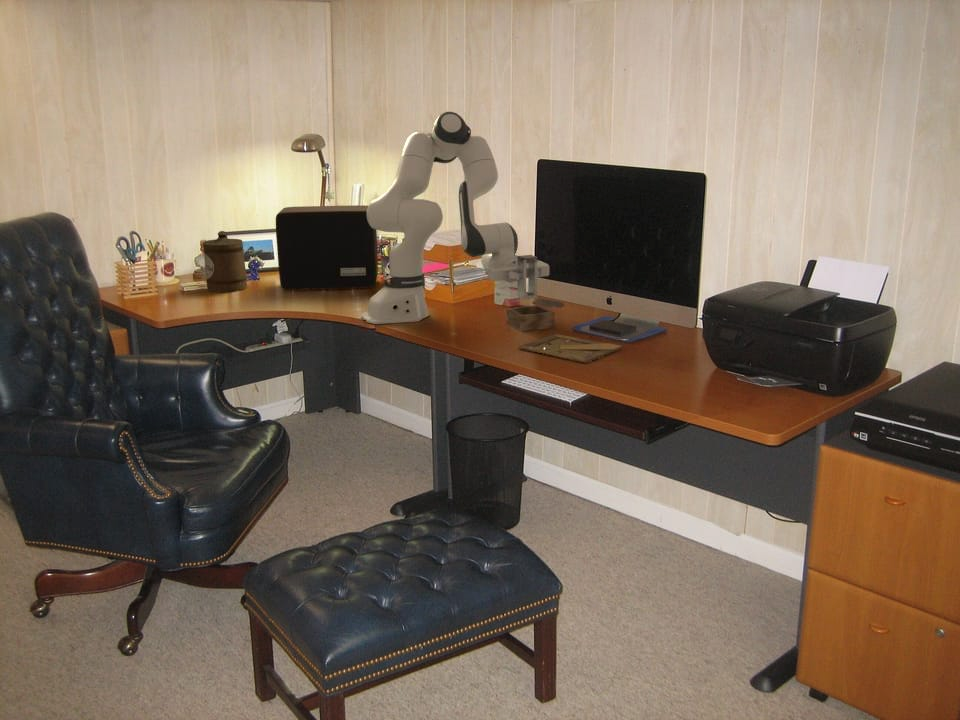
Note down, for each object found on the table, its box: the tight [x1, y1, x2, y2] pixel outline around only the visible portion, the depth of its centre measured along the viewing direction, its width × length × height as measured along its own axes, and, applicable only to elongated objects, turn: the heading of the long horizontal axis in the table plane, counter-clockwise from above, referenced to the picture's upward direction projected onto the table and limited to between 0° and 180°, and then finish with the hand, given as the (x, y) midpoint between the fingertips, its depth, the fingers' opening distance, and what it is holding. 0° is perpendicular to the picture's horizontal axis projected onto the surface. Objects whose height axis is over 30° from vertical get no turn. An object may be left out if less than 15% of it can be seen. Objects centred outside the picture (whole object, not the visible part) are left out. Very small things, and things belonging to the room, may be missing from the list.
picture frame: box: [518, 333, 623, 364], centre depth 276 cm, size 19×2×24 cm
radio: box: [275, 204, 379, 291], centre depth 360 cm, size 36×18×30 cm, turn 94°
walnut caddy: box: [506, 304, 555, 332], centre depth 302 cm, size 11×11×5 cm
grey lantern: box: [517, 254, 538, 300], centre depth 296 cm, size 5×5×13 cm
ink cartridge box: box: [494, 280, 521, 308], centre depth 330 cm, size 9×5×15 cm, turn 42°
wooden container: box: [202, 230, 248, 293], centre depth 360 cm, size 15×15×22 cm
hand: (528, 276), depth 295 cm, fingers closed on grey lantern, 5 cm apart
